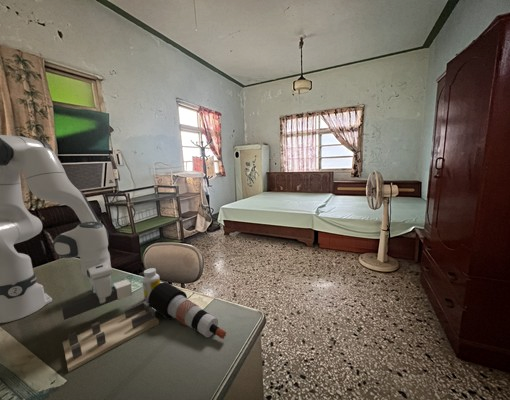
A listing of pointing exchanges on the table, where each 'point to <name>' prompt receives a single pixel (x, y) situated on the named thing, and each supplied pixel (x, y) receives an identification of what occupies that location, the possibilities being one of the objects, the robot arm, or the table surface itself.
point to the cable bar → (95, 300)
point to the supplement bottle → (150, 281)
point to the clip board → (108, 335)
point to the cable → (183, 310)
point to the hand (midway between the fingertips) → (100, 299)
